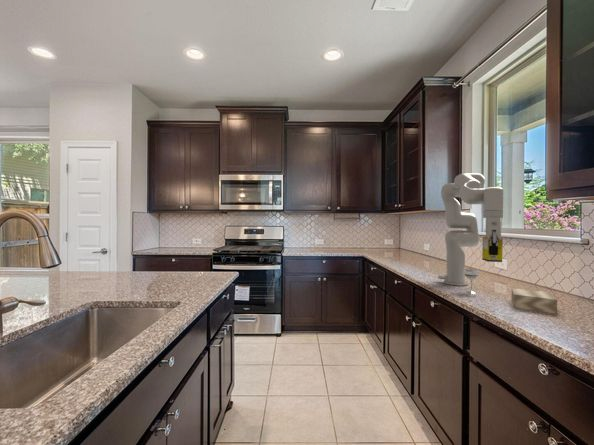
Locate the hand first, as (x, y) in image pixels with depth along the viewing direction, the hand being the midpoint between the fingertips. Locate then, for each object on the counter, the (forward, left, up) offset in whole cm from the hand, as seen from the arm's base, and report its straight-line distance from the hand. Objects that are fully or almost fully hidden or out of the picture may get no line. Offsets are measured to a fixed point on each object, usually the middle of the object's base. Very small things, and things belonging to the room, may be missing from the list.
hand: (492, 253), depth 130 cm
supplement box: (0, 0, -4) cm, 4 cm away
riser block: (+15, +3, -23) cm, 28 cm away
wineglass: (-7, +18, -23) cm, 30 cm away
